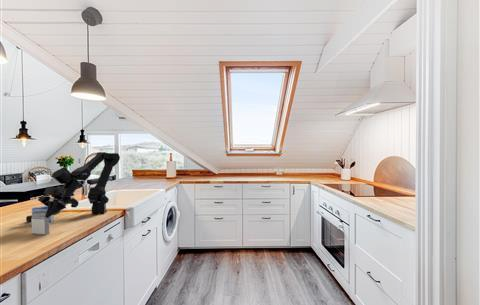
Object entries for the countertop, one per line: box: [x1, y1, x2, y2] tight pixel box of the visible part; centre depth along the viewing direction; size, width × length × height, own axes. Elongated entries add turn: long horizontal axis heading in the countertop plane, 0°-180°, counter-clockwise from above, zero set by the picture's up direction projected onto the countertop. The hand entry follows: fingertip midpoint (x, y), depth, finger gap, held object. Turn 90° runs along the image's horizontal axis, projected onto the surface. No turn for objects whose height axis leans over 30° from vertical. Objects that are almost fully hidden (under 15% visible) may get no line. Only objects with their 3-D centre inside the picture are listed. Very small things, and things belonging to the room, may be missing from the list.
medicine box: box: [31, 205, 55, 224], centre depth 117 cm, size 8×4×9 cm, turn 117°
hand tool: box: [25, 210, 62, 224], centre depth 127 cm, size 19×4×5 cm, turn 174°
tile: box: [30, 217, 50, 236], centre depth 101 cm, size 2×8×8 cm, turn 79°
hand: (46, 217), depth 104 cm, fingers closed
